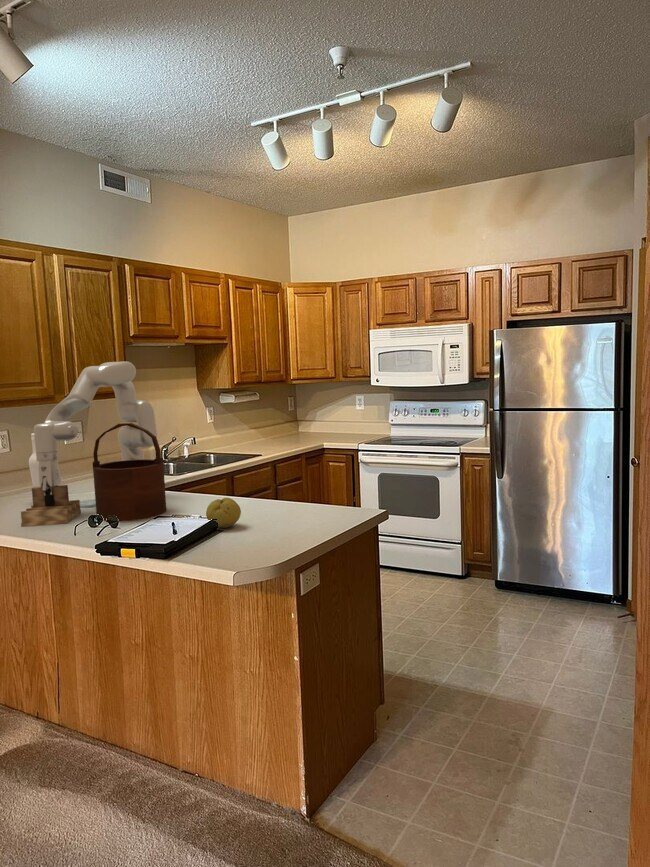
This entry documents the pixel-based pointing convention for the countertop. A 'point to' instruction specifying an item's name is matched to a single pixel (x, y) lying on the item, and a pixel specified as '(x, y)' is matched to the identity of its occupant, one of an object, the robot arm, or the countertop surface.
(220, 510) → the fruit
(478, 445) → the countertop surface
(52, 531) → the countertop surface
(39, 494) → the board
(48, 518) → the rack
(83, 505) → the pale blue rounded part
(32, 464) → the bottle
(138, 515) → the wooden bucket
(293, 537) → the countertop surface
